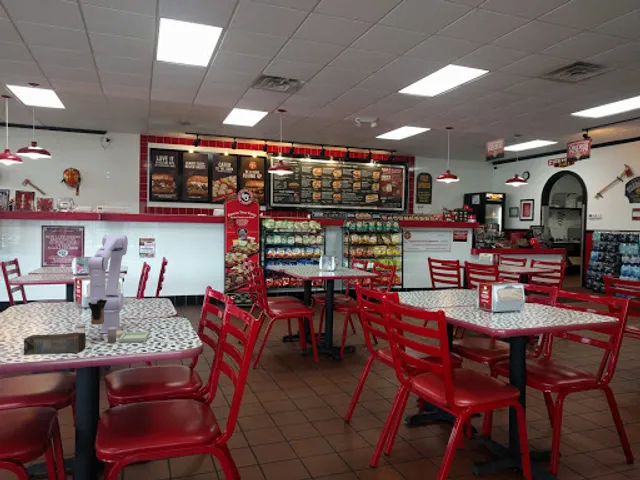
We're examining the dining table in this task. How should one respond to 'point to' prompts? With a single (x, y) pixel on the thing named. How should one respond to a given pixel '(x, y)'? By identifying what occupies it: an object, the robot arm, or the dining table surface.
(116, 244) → the robot arm
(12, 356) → the dining table surface
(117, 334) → the sauce cup
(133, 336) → the basket tray
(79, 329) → the salt shaker
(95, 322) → the walnut block
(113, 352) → the dining table surface
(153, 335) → the dining table surface
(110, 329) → the pepper shaker
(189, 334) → the dining table surface
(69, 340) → the beverage carton
